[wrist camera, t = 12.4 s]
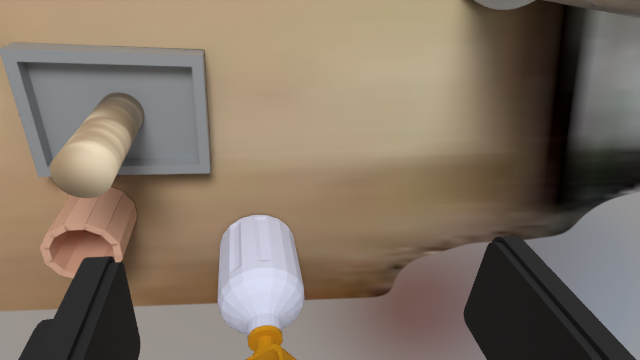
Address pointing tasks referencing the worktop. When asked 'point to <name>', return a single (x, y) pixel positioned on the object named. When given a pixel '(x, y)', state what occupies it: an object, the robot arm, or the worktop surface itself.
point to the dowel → (98, 147)
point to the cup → (89, 231)
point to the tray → (105, 78)
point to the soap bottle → (260, 283)
